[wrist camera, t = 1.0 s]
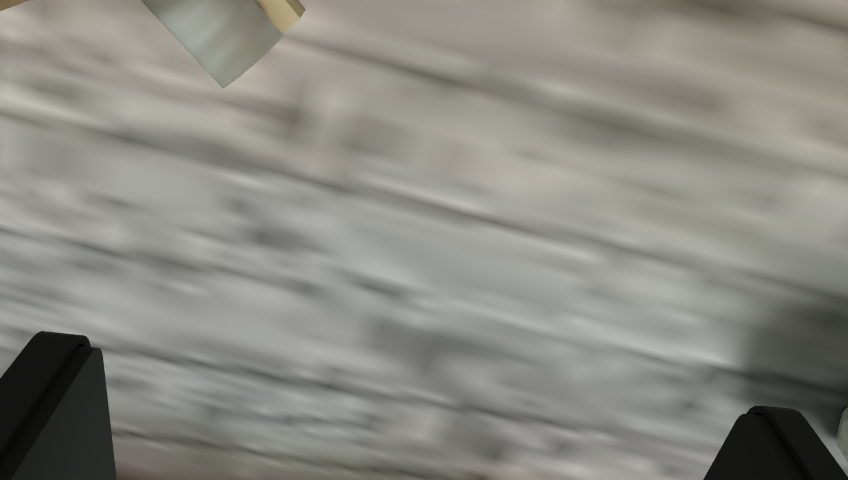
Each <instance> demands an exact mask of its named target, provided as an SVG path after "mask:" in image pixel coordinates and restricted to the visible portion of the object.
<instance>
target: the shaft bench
mask: <svg viewBox="0 0 848 480" xmlns="http://www.w3.org/2000/svg"><path fill="white" fill-rule="evenodd" d="M26 1H29V0H0V11H1V10H4V9H7V8H10V7H12V6H15V5H18V4H21V3H23V2H26ZM141 1H142V2H143V3H144V4H145V5H146V6H147V7H148V9H149V10H150V11H151V12H152V13H153V14H154V15H155V16H156V17H157V18H158V19H159V20H160V21H161V23H162V24H163V25H164V26H165V27H166V28H167V29H168V30H169V31H170V32H171V33H172V34H173V35H174V37H175V38H176V39H177V40H178V41H179V42H180V43H181V44H182V45H183V46H184V47H185V48H186V49H187V51H188V52H189V53H190V54H191V55H192V56H193V57H194V58H195V59H196V60H197V61H198V62H199V63H200V65H201V66H202V67H203V68H204V69H205V70H206V71H207V72H208V73H209V74H210V75H211V76H212V77H213V79H214V80H215V81H216V82H217V83H218V84H219V85H220V86H221V87H222V88H224V87H226V86H228V85H229V84H230V83H232V82H233V81H234V80H236V79H237V78H238V77H239V76H241V75H242V74H243V73H244V72H246V71H247V70H248V69H249V68H250V67H252V66H253V65H254V64H255V63H256V62H257V61H258V60H259V59H261V58H262V57H263V56H264V55H265V54H266V53H267V52H268V51H269V50H270V49H271V48H272V47H273V46H274V45H275V44H276V43H277V42H278V41H279V40H280V39H281V38H282V37H283V34H282V33H283V32H284V31H285V30H286V29H288V28H289V27H290V26H291V25H292V24H294V23H295V22H296V21H297V20H298V19H300V17H301V16H302V14H303V13H304V11H305V9H304V7H303V6H302V5H301V4H300V2H299V1H298V0H141Z"/></svg>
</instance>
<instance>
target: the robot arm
mask: <svg viewBox="0 0 848 480" xmlns="http://www.w3.org/2000/svg"><path fill="white" fill-rule="evenodd" d="M0 480H116V470H115V461H114V452H113V443H112V434H111V425H110V416H109V407H108V398H107V389H106V380H105V371H104V362H103V355H102V351H101V349H100V348H94V347H91V346H90V342H89V339H88V338H87V337H86V336H83V335H73V334H64V333H54V332H44V331H41V332H39V333H37V334H36V335H35V336H34V337H33V338H32V339H31V340H30V341H29V343H28V344H27V345H26V346H25V348H24V349H23V350H22V351H21V353H20V354H19V355H18V357H17V358H16V359H15V360H14V362H13V363H12V364H11V366H10V367H9V368H8V369H7V371H6V372H5V373H4V375H3V376H2V377H1V378H0ZM703 480H848V477H847V475H846V474H845V473H844V471H843V470H842V468H841V467H840V466H839V464H838V463H837V462H836V460H835V459H834V457H833V456H832V455H831V453H830V452H829V451H828V449H827V448H826V446H825V445H824V444H823V442H822V441H821V440H820V438H819V437H818V435H817V434H816V433H815V431H814V430H813V429H812V427H811V426H810V424H809V423H808V422H807V420H806V419H805V418H804V416H803V415H802V414H801V413H800V412H798V411H796V410H794V409H788V408H778V407H768V406H754V407H752V408H750V409H749V411H748V412H747V413H746V414H742V415H741V416H739V418H738V419H737V420H736V422H735V424H734V426H733V427H732V429H731V431H730V433H729V435H728V436H727V438H726V440H725V442H724V444H723V445H722V447H721V449H720V451H719V453H718V454H717V456H716V458H715V460H714V461H713V463H712V465H711V467H710V469H709V470H708V472H707V474H706V476H705V478H704V479H703Z"/></svg>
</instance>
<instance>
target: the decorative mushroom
mask: <svg viewBox="0 0 848 480" xmlns="http://www.w3.org/2000/svg"><path fill="white" fill-rule="evenodd" d="M837 445H838V447H839V449H840V450H841V452H842V453H843V455H844V457H845V458H846V460H847V461H848V407H847V408H846V409H845V410H844V411H843V412H842V416H841V420H840V424H839V427H838V437H837Z"/></svg>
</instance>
